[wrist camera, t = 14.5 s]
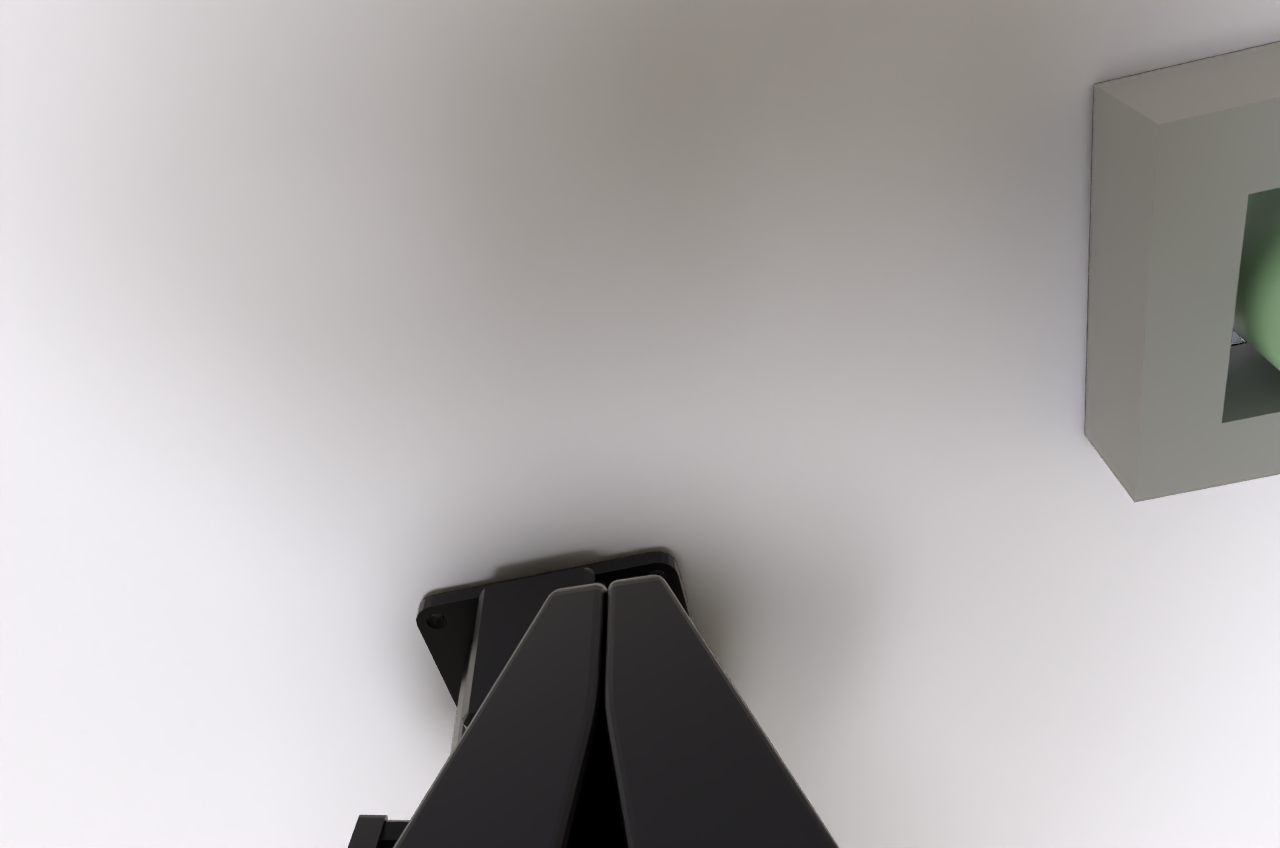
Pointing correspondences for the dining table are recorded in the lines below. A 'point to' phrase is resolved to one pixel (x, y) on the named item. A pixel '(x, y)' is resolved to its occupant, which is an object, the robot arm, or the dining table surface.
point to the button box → (1179, 274)
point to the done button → (1260, 276)
